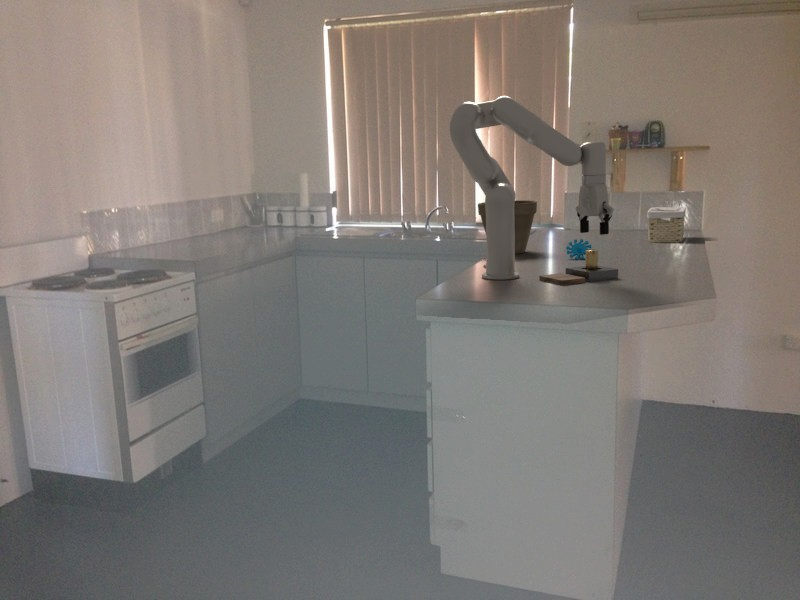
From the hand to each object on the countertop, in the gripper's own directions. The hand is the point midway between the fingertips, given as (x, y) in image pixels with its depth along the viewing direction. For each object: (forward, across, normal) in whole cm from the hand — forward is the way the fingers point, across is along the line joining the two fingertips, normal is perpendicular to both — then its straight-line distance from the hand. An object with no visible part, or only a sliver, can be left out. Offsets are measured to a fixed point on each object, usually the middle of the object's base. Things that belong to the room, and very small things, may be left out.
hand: (594, 233), depth 235 cm
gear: (+15, -39, +25) cm, 49 cm away
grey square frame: (+15, -1, -1) cm, 15 cm away
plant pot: (+14, -74, +14) cm, 76 cm away
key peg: (+15, -1, -1) cm, 15 cm away
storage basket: (+16, -65, +97) cm, 118 cm away
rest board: (+14, 0, -13) cm, 20 cm away
